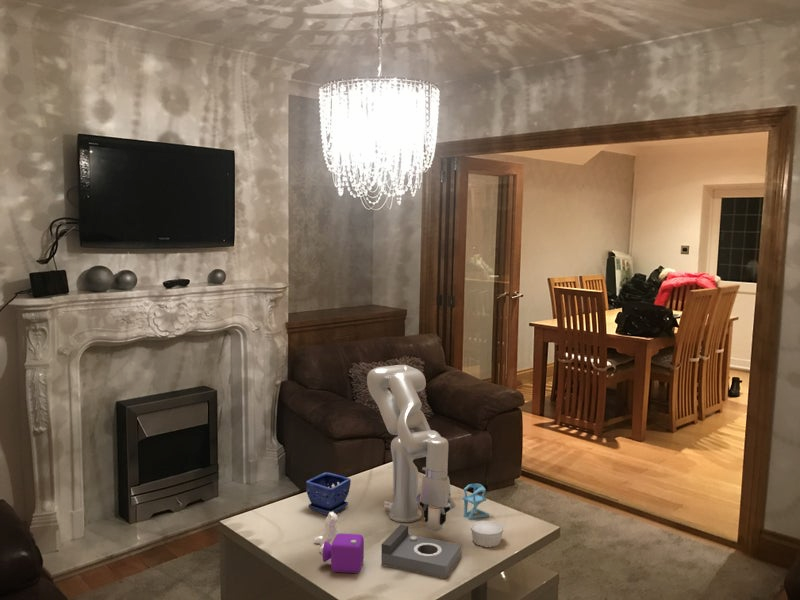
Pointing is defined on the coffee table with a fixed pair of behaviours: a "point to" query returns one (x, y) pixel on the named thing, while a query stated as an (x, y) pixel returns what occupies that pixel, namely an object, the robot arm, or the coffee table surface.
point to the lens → (434, 518)
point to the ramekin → (486, 533)
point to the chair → (474, 501)
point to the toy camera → (345, 552)
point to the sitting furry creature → (328, 530)
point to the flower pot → (328, 492)
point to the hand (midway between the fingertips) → (434, 521)
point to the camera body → (419, 553)
